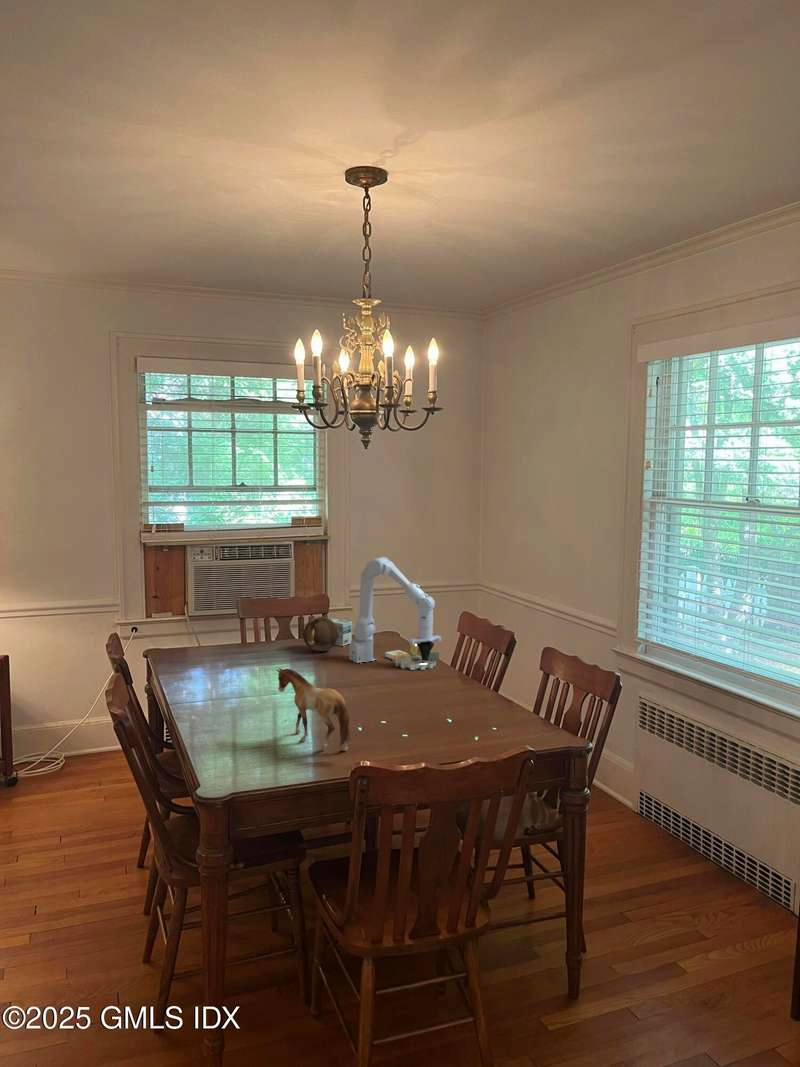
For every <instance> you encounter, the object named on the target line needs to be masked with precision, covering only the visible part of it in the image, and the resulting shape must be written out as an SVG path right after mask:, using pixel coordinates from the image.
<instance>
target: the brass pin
mask: <svg viewBox="0 0 800 1067" xmlns="http://www.w3.org/2000/svg"><path fill="white" fill-rule="evenodd" d="M409 645H410V649H409V655H411V656H416V655H419V652H418V651H419V647H418V645H417V644H414V645H411V644H409Z"/></svg>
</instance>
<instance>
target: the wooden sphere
mask: <svg viewBox="0 0 800 1067" xmlns="http://www.w3.org/2000/svg"><path fill="white" fill-rule="evenodd" d="M302 633H303V634H302V636H303V641H304V643H305V644H306V646H307V647H308V648H310V650H313V651H315V652H319V651H322V652H326V651H328V650H331V649H332V648H333V647H334V646H335V645H334V644H335V643H336V641H337V638H338V630H337V627H336V625H335V624H334V622H333V621H332V620H331V619H330V618H328V617H327V616H326V617H325V616H317V617H313V618H311V619H310V620H309V621H308V622H307V623H306V624H305V625H304V628H303V632H302Z"/></svg>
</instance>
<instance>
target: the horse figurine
mask: <svg viewBox="0 0 800 1067" xmlns="http://www.w3.org/2000/svg"><path fill="white" fill-rule="evenodd" d="M275 670H276V671H277V672H278V677H277V679H278V687H277V689H278V691H279V692H280V693H283V692H284V691H285V689H286V687H287V686H288V685H289V684H291V686H292V688H293V691H294V692H295V694H294V698H293V700H294V704H295V706H296V707H297V709H298V712H299V713H298V714H297V719H296V723H295V735H296V734H299V733H300V732H301V728H300V722H301V719H302V725H303V729H304V732H303V736H301V738H300V739H299V742H300V743H305V742H306V741H307V737H308V736H309V734H308V733H309V732H308V717H307V715H308V714H307V711H308V710H309V711H313V712H317V713H318V715H319V716H320V717H321V719H322V721H323V723H324V724H325V725H326V726H327V732H326V735H325V736H324V737H323V739H322V744H321V750H323V751H324V750H325V749H326V748H327V747H328V746H327V742H328V741H329V738H330V736H331V734H332V733H333V732H334V730H335V728H336V727H335V725H334V724H333V723H332V720H331V719H330V718H331V716H333V715H335V716H337V720H338V722H339V734H340V742H339V743H340V744H339V747H341V748H340V751H341V752H347V750H348V745H349V742H350V737H351V730H350V728H351V726H350V716H349V711H348V709H347V707H346V700H345V699H344V697H343V695H342V694H340V692H338V691H337V690H335V689H333V688H330V687H329V688H319V687H316V686H314V685H313V684H311V683H310V682H309V681H308V680H307V679H306V678H304V677H303V675H301V674H300V673H299V672H297V671H295V670H293V669H290V668H285V669H284V668H283V669H282V668H281V667H280V668H278V669H277V668H276V669H275Z"/></svg>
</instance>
